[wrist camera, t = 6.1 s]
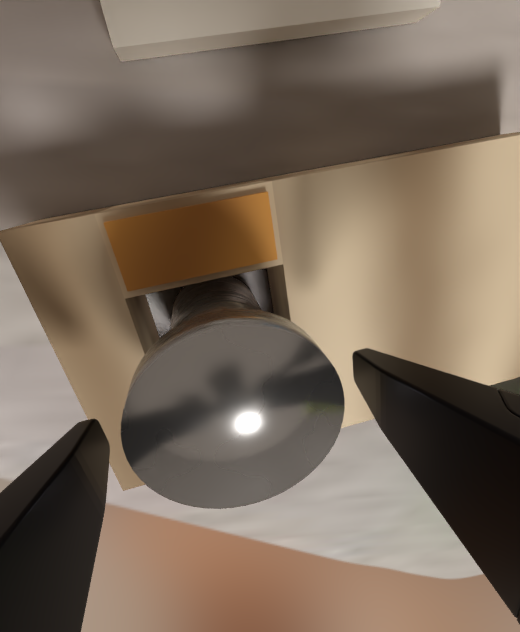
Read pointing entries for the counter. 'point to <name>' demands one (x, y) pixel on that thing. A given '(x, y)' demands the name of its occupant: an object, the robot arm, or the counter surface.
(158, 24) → the tab
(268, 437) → the peg
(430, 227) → the rail plate
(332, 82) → the counter surface
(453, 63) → the counter surface
